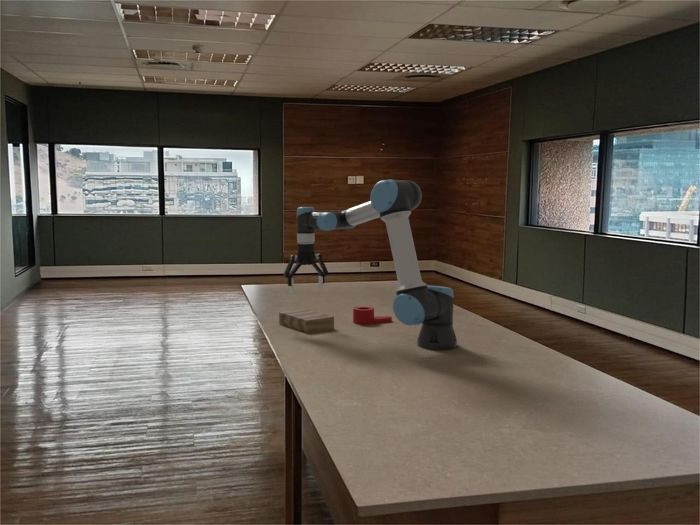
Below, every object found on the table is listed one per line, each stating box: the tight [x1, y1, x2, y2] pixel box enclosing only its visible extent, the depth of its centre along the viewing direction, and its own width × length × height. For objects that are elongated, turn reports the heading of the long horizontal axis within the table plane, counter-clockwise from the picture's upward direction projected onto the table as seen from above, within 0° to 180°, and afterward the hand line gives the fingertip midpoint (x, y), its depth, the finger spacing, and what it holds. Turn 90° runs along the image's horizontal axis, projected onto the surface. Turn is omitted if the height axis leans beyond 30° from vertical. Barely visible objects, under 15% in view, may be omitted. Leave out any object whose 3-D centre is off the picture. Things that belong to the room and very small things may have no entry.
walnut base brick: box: [278, 308, 335, 333], centre depth 272 cm, size 22×14×6 cm, turn 37°
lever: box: [352, 306, 393, 326], centre depth 283 cm, size 18×9×7 cm, turn 105°
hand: (306, 292), depth 271 cm, fingers open, 13 cm apart
